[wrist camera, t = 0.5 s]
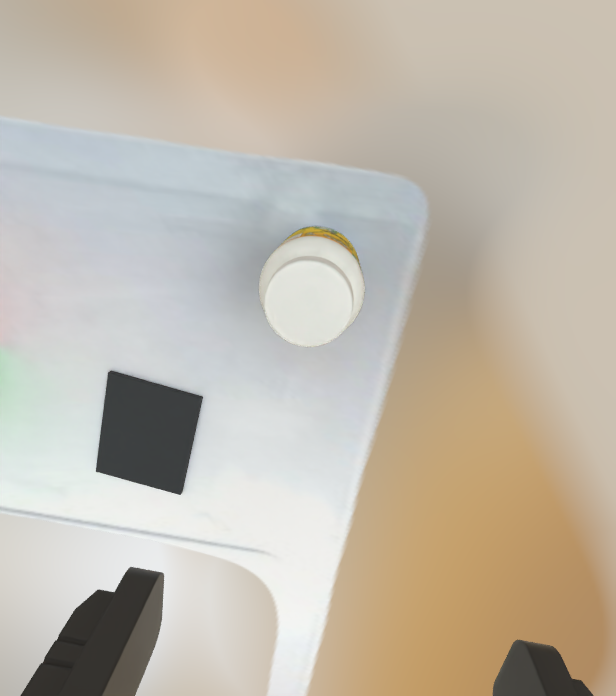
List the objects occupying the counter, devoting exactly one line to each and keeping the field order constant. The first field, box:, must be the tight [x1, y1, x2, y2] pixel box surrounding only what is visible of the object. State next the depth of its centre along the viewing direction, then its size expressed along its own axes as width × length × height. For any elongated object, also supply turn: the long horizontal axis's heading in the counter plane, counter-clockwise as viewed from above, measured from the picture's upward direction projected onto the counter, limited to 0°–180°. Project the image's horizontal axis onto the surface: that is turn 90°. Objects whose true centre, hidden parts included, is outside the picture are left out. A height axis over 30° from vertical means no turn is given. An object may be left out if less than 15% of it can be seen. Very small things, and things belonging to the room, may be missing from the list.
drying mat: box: [96, 371, 203, 495], centre depth 33 cm, size 9×7×1 cm
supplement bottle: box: [259, 226, 365, 347], centre depth 24 cm, size 5×5×10 cm
